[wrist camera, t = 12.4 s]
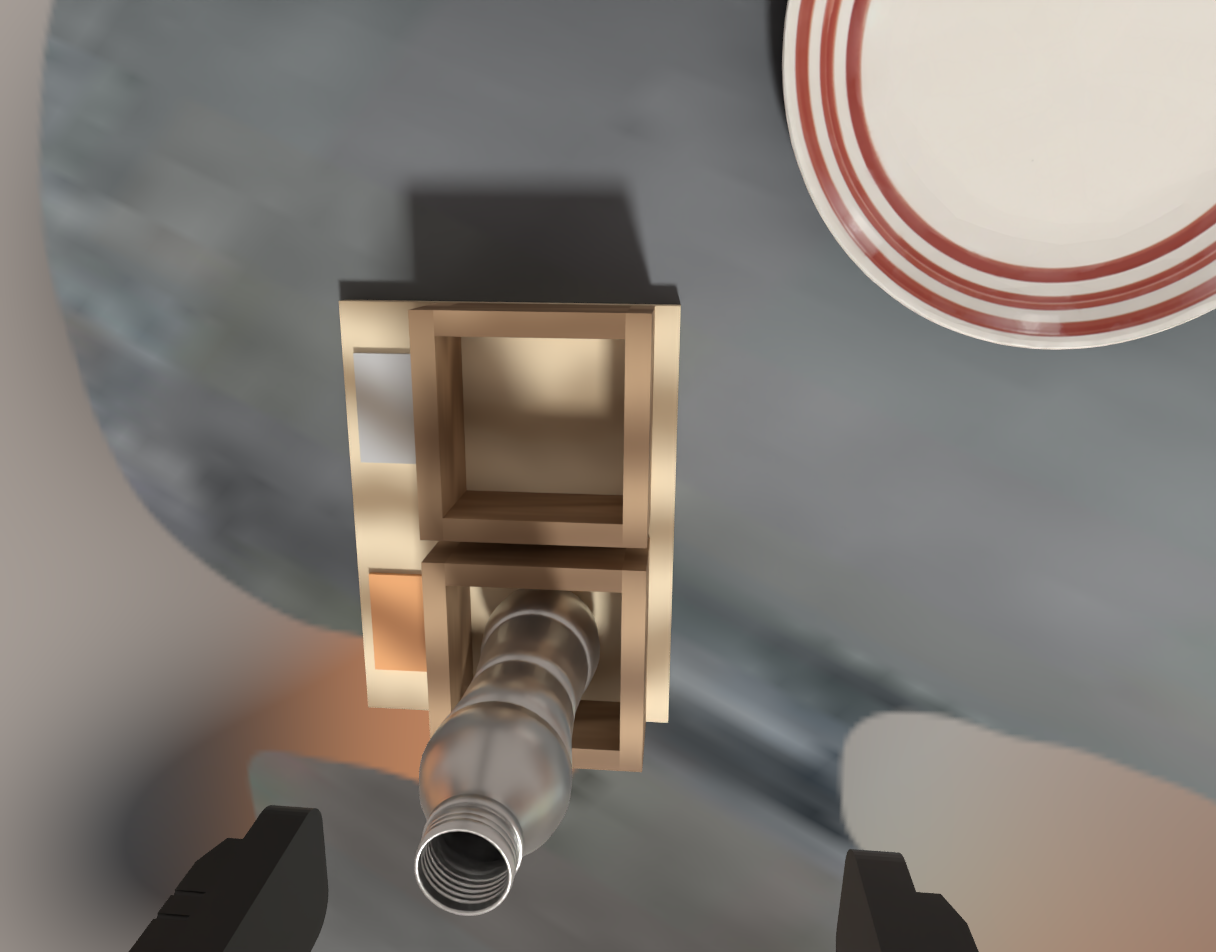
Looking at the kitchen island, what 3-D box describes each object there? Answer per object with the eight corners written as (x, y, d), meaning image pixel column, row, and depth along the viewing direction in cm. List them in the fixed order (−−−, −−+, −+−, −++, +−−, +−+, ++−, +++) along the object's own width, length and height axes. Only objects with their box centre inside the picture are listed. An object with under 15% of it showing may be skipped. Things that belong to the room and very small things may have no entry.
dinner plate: (1176, 422, 45) (1214, 437, 42) (689, 223, 44) (689, 222, 41) (1522, -153, 37) (1601, -190, 34) (940, -403, 37) (964, -465, 33)
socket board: (345, 299, 46) (298, 308, 41) (680, 304, 45) (680, 314, 39) (374, 698, 53) (336, 754, 47) (668, 713, 51) (666, 773, 46)
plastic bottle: (602, 571, 48) (548, 789, 29) (606, 680, 50) (558, 954, 31) (489, 571, 49) (362, 786, 30) (497, 679, 51) (383, 947, 31)
